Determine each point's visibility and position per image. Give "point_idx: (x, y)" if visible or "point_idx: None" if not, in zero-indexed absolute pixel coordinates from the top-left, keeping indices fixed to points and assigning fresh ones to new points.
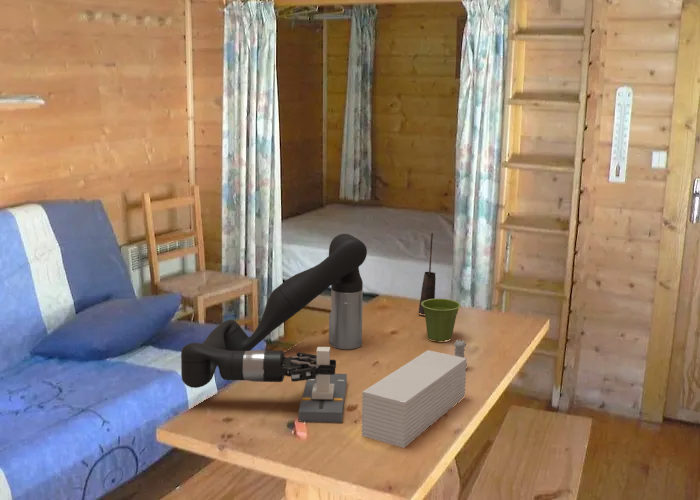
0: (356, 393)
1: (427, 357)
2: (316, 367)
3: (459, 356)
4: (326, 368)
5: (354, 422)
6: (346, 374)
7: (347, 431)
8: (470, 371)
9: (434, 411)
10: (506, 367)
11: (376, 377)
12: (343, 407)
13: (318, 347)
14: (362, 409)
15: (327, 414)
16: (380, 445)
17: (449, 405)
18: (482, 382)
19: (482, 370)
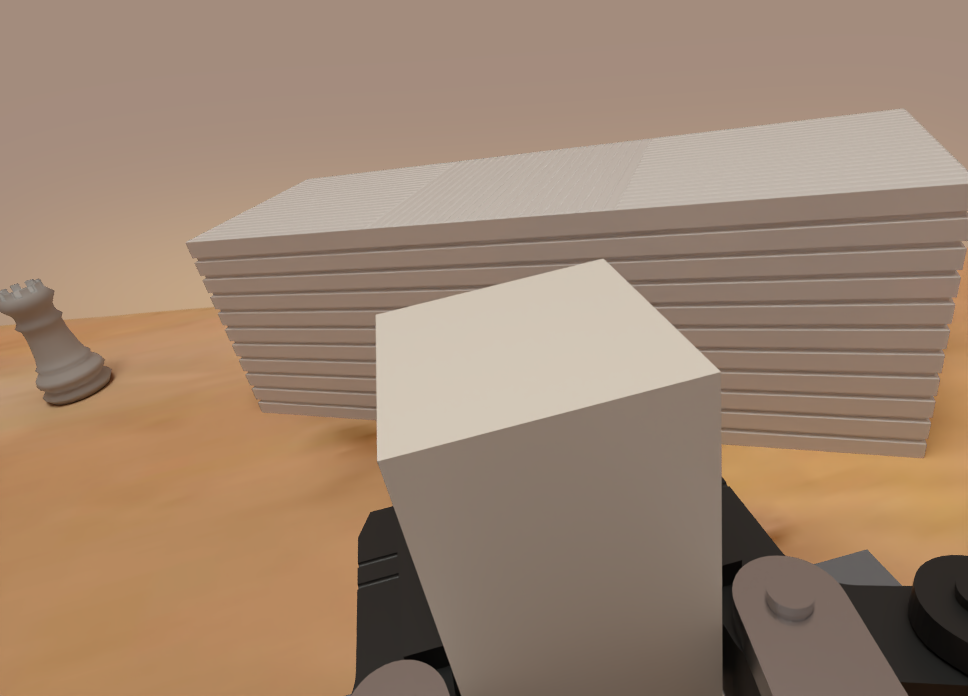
0: (300, 679)
1: (289, 219)
2: (831, 594)
3: (68, 335)
4: (723, 479)
5: (785, 541)
6: None
7: (948, 534)
8: (119, 363)
9: None
10: (120, 319)
11: (33, 638)
12: None
13: (425, 431)
14: (952, 307)
15: None
16: (940, 374)
17: None
18: (226, 326)
19: (122, 346)
